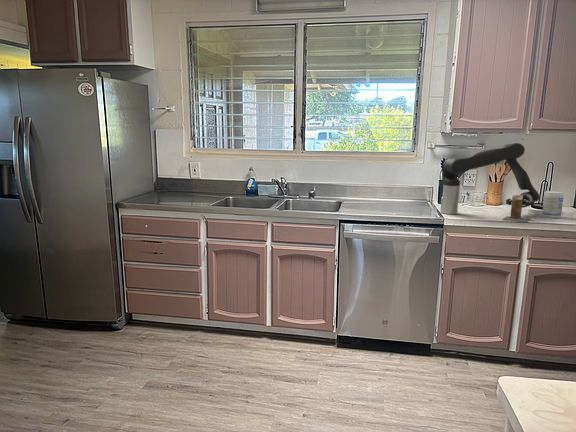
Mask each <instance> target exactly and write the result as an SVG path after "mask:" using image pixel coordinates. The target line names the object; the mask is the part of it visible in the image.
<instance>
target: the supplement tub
mask: <svg viewBox="0 0 576 432" xmlns="http://www.w3.org/2000/svg"><path fill="white" fill-rule="evenodd" d="M564 193H565V192H562V191H554V190H546V191H544V195H543V202H542V211H541V213H542V214H541V216H542V217H544V218H547V219H548V218H549V219H559V218H562V212H563V203H564V197H565V196H564Z"/></svg>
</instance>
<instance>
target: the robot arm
mask: <svg viewBox="0 0 576 432" xmlns="http://www.w3.org/2000/svg"><path fill="white" fill-rule="evenodd" d="M524 154H525V146H524V145H523V144H521V143H518V142H515V143H508V144H505V145H504V146H503V147H502V148H494V149H493V148H491V149H486V150H482V151H478V152H476V153H474V154H473V155H471V156H469V157H464V158H453V157H451V158H449V157H448V158H446V159H445V160H444V162H443V164H442V181H443V185H442V187H443V189H442V197H440V198H441V199H440V211H439V212H440V213H442V214H446V215H457V214H458V212H459V211H458V210H459V201H460V189H461V187H460V185H461V181H460V180H459V179H458V177H457V175H459V174H462V173H465V172H467V171H470V170H473V169H478V168H479V169H480V168H483V167H488V166H490V165H495V164H497V163H500V162H503V161H505V162H506V164H507V165H508V166H509V168H510V170H511V171H512V174H513V175H514V179H515V181H516V182H517V186H518V188H519V189H520V190H521V191H522V190H523V191H525V190H526V192H522V193H520V194H519V195H523V201H522V209H523V208H527V207H534V206H535V203H536V202H537V201H539V200H540V194H539V192H538V191H537V190H536V188H535V187H534V186H533V184H532V182H531V179H530V176H529V174H528V173H527V171H526V170H525V169H524V168H523V167H522V166H521V165H520V163H519V162H518V160H517V159H518V158H521V157H522V156H523V155H524ZM505 205H508V206H511V205H512V198H507V199H506V200H505Z"/></svg>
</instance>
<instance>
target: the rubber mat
mask: <svg viewBox="0 0 576 432" xmlns="http://www.w3.org/2000/svg"><path fill="white" fill-rule="evenodd" d="M501 220H502V221H508V222H509V221H511V222H516V223H518V222H519V223H528V222H529V221H530V220H531V218H528V217H527V218H525V217H521V218H520V219H514V218H510V216H509V215H507V216H505V217H503V218H502V219H501Z"/></svg>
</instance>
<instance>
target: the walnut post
mask: <svg viewBox="0 0 576 432" xmlns="http://www.w3.org/2000/svg"><path fill="white" fill-rule="evenodd" d="M511 200H512V202H511V203H512V204H511V205H510V218H514V219H520V218H522V209H523V208H522V201H523V195H520V194H512V197H511Z"/></svg>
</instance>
